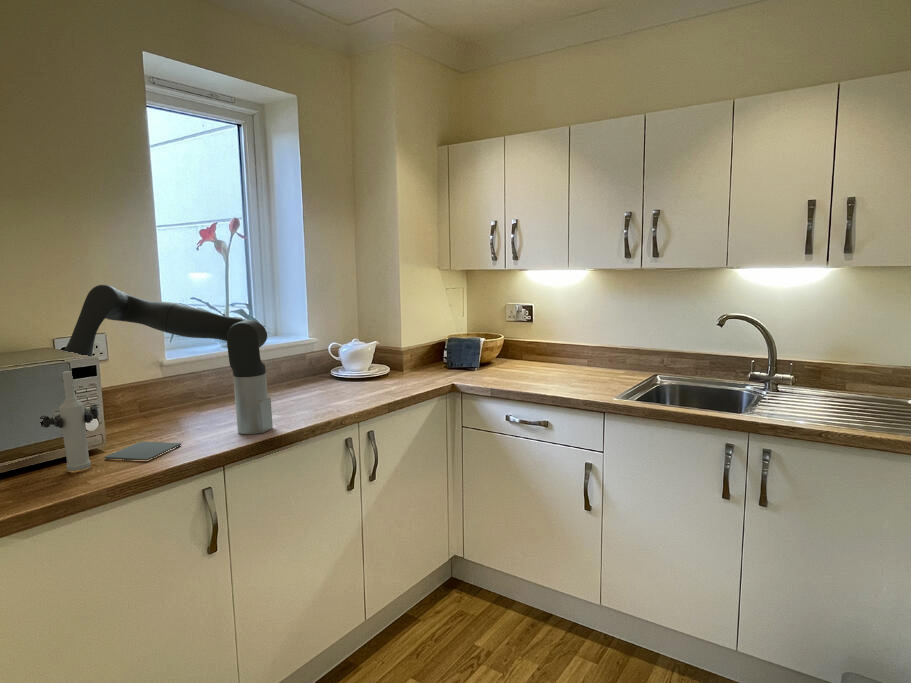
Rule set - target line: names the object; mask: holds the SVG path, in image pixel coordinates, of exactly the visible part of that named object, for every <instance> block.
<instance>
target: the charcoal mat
mask: <svg viewBox="0 0 911 683" xmlns="http://www.w3.org/2000/svg"><path fill="white" fill-rule="evenodd" d="M180 445H181V446H182V443H181V442H165V441H163V442H160V441H159V442H158V441H139V442H137V443H134V444H132V445H129V446H128V447H125V448H122V449H120V450H117V451H115V452H113V453H110V454H108V455H106V456H104V459H105V458H106V459H122V460H123V459H124V460H149V459H151V458H154V457H156V456H158V455H160V454H162V453H164V452H166V451H168V450H170V449H173V448H175V447H177V446H180ZM181 446H180V447H181Z"/></svg>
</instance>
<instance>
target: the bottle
mask: <svg viewBox="0 0 911 683" xmlns="http://www.w3.org/2000/svg"><path fill="white" fill-rule="evenodd" d="M62 376H63V382H64V383H63V382H62V383H63V388H64V390H65V399H64V402H63V403H62V404H61V405H60V406H59V412H60V418H61V419H62V422H63V428H61V431H62V436H63V443H64V444H63V445H64V450H65V456H66V458H65V459H66V467H65V468H66V471H67V470H68V471H76V470H83V469H86V468H89V467H90V466H92V463H91V459H90V456H89V446H88V436H87V428H86V426H87V425H86V424H87V423H86V422H85V414H84V407H85V405H84V403H83V402H82V401H80V400H78V398H77V397H76V393H75V394H74V386H73V376H72V371H64V372H62ZM90 468H91V467H90ZM68 471H67V472H68Z"/></svg>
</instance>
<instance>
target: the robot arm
mask: <svg viewBox="0 0 911 683" xmlns="http://www.w3.org/2000/svg"><path fill="white" fill-rule="evenodd" d="M79 313H80V314H79V316H78V318H77V321H76V324H75V326H74V328H73V332H72V334H71V336H70V338H69V340H68V343H66V344H67V345H66V347H65V348H64V350H63V352H64V351H68V352H74V353H78V354H81V355H88V356H91V357H92V355H93V350H94V345H95V340H96V335H97V334H98V330H99V328H100V327H101V325H102V324H103V322H104V320H105V319H107V320H111V321H118V322H125V323H126V322H127V323H133V324H139V325H143V326H146V327H149V328H151V329H154V330H157V331H160V332H162V333H163V332H164V333H167V334H171V335H175V336H180V337H182V338H183V337H184V338H193V339H211V340H213V339H214V340H220V341H224V342H226V348H227V353H228V354H227V355H228V363H229V366H230V368H231V370H232V376H233V390H234V391H233V392H234V401H235V413H236V427H237V433H238V434H241V435H255V434H264V433H266V432H267V431H270V430H271V429H273V428H274V425H273V413H272V412H273V410H272V398H271V397H270V396H269V395H268V387H267V386H268V384H267V371H266V370H267V369H266V364H265V363H264V362H262V359H261V353H260V348H261V347H262V346H263V345H265V343H266V342H267V339H268V331H267V329H266V328H265V326H264V325H263V324H262V323H260V322H259V321H258V320H255V319H247V318H246V319H245V318H238V317H232V316H231V317H230V316H225V315H220V314H218V313H214V312H211V311H208V310H204V309H201V308H198V307H194V306H191V305H187V304H183V303H182V304H181V303H177V302H171V301H151V300H150V301H149V300H145V299H142V298H138V297H136V296H133V295H130V294H127V293H126V292H124V291H122V290H119V289H117V288H115V287H113V286H111V285H108V284H99V285H95V286H94V287H92V288H91V290H90V291H88V293H87V295H86V297H85V300H84V301H83V304H82V307H81V310H80V312H79ZM268 396H269V397H268ZM89 408H90V409H89ZM89 408H86V407H85V408H84V414H85V424H90V423H92V421H94V420H95V419H96V420H97V419H99V407H98V404H93V405H90V406H89ZM40 419H43V421H42V422H40V423H41V426H40V427H42V428H45V429H46V428H49V427H51V426H53V427H56V428H57V427H58V429H62V428H63V422H62V419H61V418H60V412H59V411H55V412H54V415H53V416H52V418H49V417H48V416H45V414H44V416H41V417H40ZM272 427H273V428H272Z"/></svg>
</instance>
